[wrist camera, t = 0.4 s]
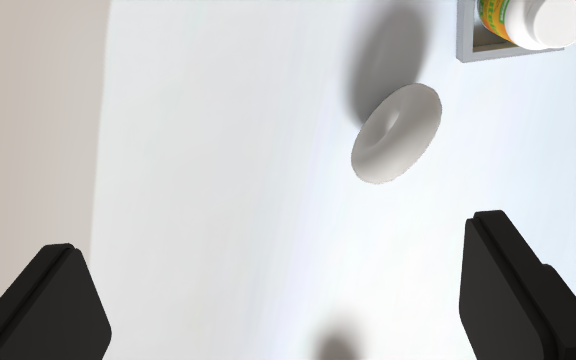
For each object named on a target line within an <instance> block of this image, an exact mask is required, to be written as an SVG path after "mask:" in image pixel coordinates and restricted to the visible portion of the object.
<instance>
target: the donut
mask: <svg viewBox="0 0 576 360" xmlns="http://www.w3.org/2000/svg"><path fill="white" fill-rule="evenodd" d="M441 114H442V105H441V102H440V99H439V96H438V94H437V93H436V91H435V90H434V89H432V88H430V87H428V86H426V85H424V84H419V83H415V84H410V85H406V86H403V87H402V88H400V89H398V90H397V91H395V92H393V93H392V94H391V95H389V96H388V97H387V98H386V99H385V100H383V101H382V103H381V104H380V105H379V106H378V107H377V108H376V109H375V110H374V111H373V113H372V114H371V115H370V117H369V118H368V119H367V121H366V122H365V124H364V125H363V127H362V128H361V130H360V132H359V134H358V136H357V138H356V140H355V143H354V146H353V149H352V153H351V164H352V168H353V170H354V172H355V173H356V175H357V177H359V178H360V179H361V180H362V181H364V182H367V183H371V184H382V183H385V182H389V181H392V180H394V179H395V178H397V177H398V176H400V175H402V174H403V173H404V172H406V171H407V170H408V169H409V168H410V167H411V166H412V165H413V164H414V163H415V162H416V161H417V160H418V159H419V158H420V157H421V155H422V154H423V153H424V152H425V151H426V149H427V147H428V146H429V144H430V143H431V141H432V139H433V138H434V136H435V134H436V131H437V129H438V127H439V124H440V121H441Z"/></svg>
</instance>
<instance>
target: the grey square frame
mask: <svg viewBox="0 0 576 360" xmlns="http://www.w3.org/2000/svg"><path fill="white" fill-rule="evenodd" d="M474 6H475V0H458V8H457V43H456V58H457V59H458V60H460V61H461V62H462V63H467V62H475V61H482V60H490V59H498V58H506V57H513V56H521V55H529V54H536V53H544V52H552V51H560V50H564V48H565V47H563V48H547V49H542V50H530V49H526V48H523V47H520V46H518V45H516V44H514V43H512V42H506V43H498V44H491V45H483V46H476V47H473V29H474Z"/></svg>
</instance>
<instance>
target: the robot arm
mask: <svg viewBox="0 0 576 360" xmlns="http://www.w3.org/2000/svg"><path fill="white" fill-rule="evenodd" d="M459 314H460V318H461V322H462V324H463V327H464V329H465V331H466V334H467V336H468V339H469V341H470V343H471V346H472V348H473V351H474V353H475V356H476V358H477V360H576V296H575V295H574V294H573V292H572V291H571V290H570V288H569V287H568V286H567V284H566V283H565V282H564V281H563V279H562V278H561V277H560V275H559V274H558V273H557V271H556V270H555V269H554V268H553V267H552V266H551V265H548V264H542V263H541V262H540V260H539V259H538V258H537V256H536V255H535V253H534V252H533V251H532V249H531V248H530V247H529V245H528V244H527V243H526V241H525V240H524V238H523V237H522V236H521V234H520V233H519V232H518V230H517V229H516V228H515V226H514V225H513V224H512V222H511V221H510V219H509V218H508V217H507V215H506V214H505V213H504V212H503V211H502V210H493V211H480V212H476V213H475V214H474V216H473V218H470V219H467V220H466V224H465V236H464V248H463V261H462V273H461V285H460V297H459ZM111 335H112V332H111V327H110V324H109V321H108V319H107V316H106V314H105V311H104V309H103V306H102V303H101V301H100V298H99V296H98V293H97V291H96V288H95V285H94V283H93V280H92V278H91V275H90V273H89V270H88V268H87V265H86V262H85V260H84V258H83V255H82V253H81V251H80V250H79V249H77V248H76V249H75V248H74V246H73V245H72V244H69V243H65V244H52V245H45V246H44V247H43V248H41V250H40V251H39V252H38V253H37V254H36V256H35V257H34V258H33V259H32V260H31V262H30V263H29V264H28V265H27V266H26V268H25V269H24V270H23V271H22V272H21V274H20V275H19V276H18V277H17V278H16V280H15V281H14V282H13V283H12V284H11V286H10V287H9V288H8V289H7V290H6V292H5V293H4V294H3V295H2V296H1V297H0V360H102V358H103V356H104V354H105V352H106V350H107V348H108V346H109V344H110V341H111Z"/></svg>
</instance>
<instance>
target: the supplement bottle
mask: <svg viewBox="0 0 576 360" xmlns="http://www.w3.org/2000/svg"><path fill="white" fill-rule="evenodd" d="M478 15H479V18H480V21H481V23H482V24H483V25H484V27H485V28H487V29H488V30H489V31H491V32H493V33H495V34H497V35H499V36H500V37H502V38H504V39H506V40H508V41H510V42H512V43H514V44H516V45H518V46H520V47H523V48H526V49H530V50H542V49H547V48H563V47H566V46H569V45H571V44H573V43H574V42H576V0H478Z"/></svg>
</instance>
